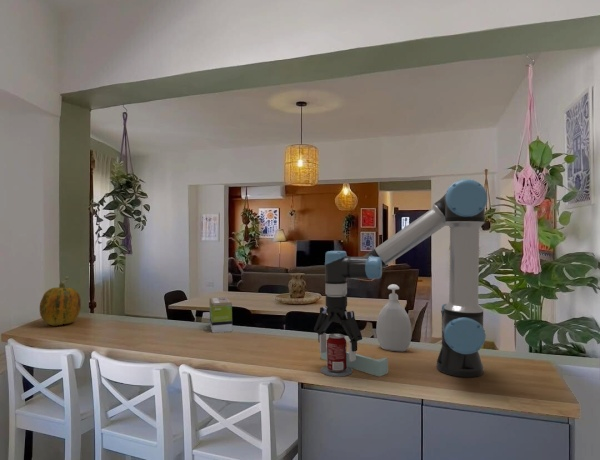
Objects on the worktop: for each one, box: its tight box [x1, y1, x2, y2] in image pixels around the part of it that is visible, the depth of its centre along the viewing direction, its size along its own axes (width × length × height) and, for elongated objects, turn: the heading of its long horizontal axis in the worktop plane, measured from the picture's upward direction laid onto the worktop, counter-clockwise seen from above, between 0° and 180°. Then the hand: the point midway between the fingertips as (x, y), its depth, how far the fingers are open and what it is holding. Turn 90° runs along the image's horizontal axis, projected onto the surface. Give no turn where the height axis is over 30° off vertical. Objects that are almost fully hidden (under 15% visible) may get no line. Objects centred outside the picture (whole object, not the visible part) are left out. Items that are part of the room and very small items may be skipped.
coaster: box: [320, 365, 353, 378], centre depth 141 cm, size 11×11×1 cm
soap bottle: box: [375, 283, 413, 353], centre depth 167 cm, size 14×8×27 cm, turn 62°
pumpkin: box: [39, 275, 82, 327], centre depth 214 cm, size 19×19×25 cm
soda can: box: [326, 333, 347, 372], centre depth 141 cm, size 7×7×12 cm
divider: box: [320, 343, 389, 378], centre depth 147 cm, size 27×5×5 cm, turn 43°
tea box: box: [209, 296, 233, 334], centre depth 204 cm, size 15×10×15 cm
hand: (337, 356), depth 140 cm, fingers open, 13 cm apart
